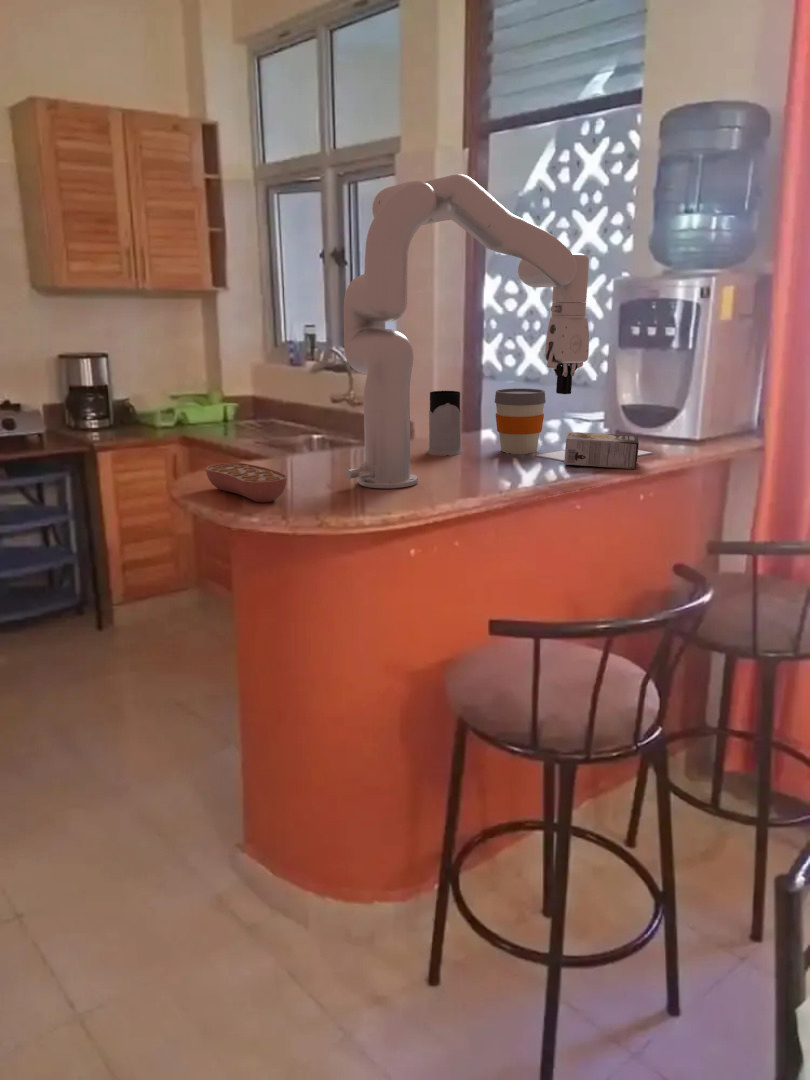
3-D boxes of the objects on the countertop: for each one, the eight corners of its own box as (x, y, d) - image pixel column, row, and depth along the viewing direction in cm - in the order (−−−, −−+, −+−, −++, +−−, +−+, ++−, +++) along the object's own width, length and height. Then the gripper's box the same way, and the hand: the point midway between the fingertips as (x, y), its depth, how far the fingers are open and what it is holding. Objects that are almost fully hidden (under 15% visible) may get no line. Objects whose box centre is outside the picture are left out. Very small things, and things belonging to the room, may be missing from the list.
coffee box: (568, 430, 205) (638, 434, 202) (566, 457, 207) (635, 461, 203) (565, 438, 196) (639, 442, 193) (563, 465, 198) (636, 470, 195)
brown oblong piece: (199, 490, 181) (198, 466, 179) (242, 483, 187) (240, 460, 185) (255, 510, 164) (253, 483, 162) (300, 501, 170) (299, 476, 168)
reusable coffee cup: (539, 456, 212) (540, 394, 208) (488, 454, 216) (489, 393, 212) (547, 448, 223) (549, 388, 219) (499, 445, 227) (501, 387, 223)
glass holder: (430, 456, 214) (430, 394, 210) (422, 446, 228) (421, 388, 224) (465, 454, 215) (465, 393, 211) (454, 445, 229) (455, 387, 225)
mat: (586, 465, 200) (586, 464, 200) (536, 456, 212) (536, 455, 212) (652, 453, 214) (652, 452, 214) (601, 445, 226) (601, 444, 226)
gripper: (557, 311, 189) (552, 396, 194) (603, 311, 198) (597, 393, 202) (533, 310, 195) (528, 393, 199) (578, 311, 203) (573, 390, 208)
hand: (563, 393), depth 201 cm, fingers closed
